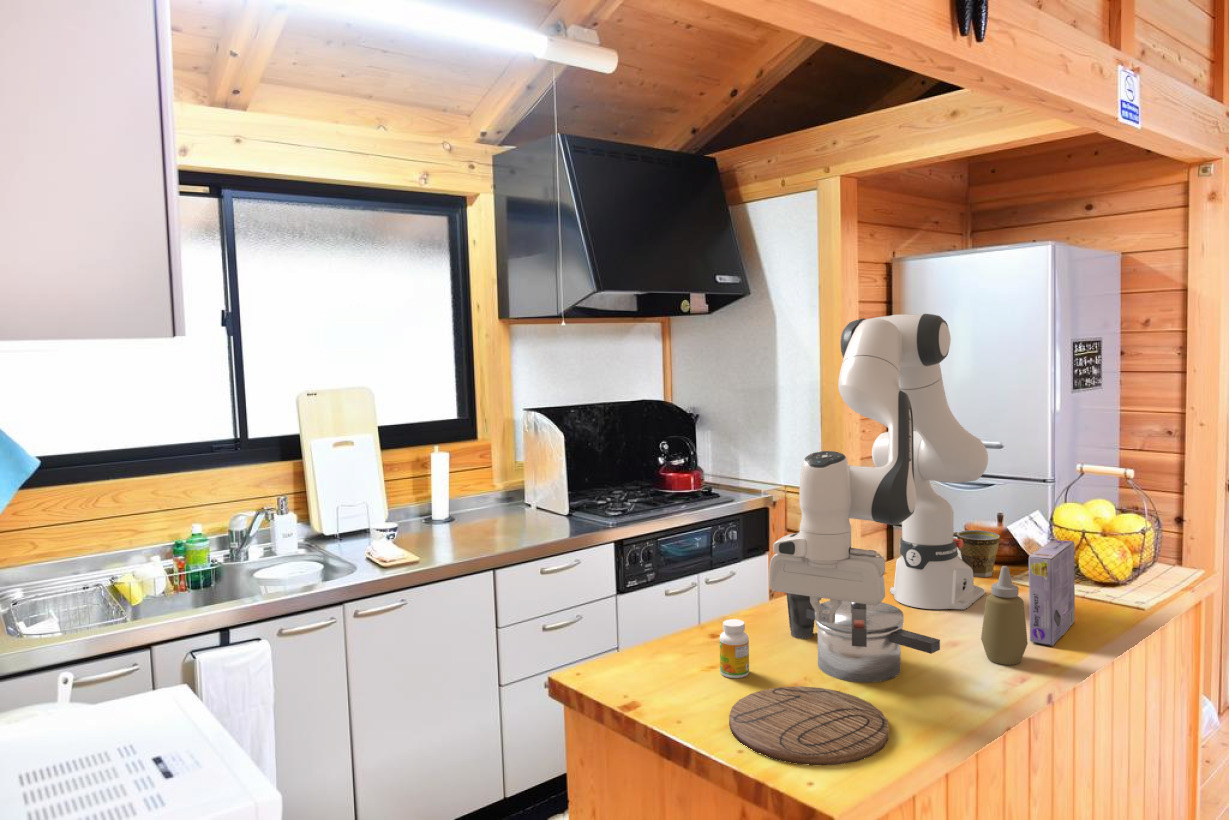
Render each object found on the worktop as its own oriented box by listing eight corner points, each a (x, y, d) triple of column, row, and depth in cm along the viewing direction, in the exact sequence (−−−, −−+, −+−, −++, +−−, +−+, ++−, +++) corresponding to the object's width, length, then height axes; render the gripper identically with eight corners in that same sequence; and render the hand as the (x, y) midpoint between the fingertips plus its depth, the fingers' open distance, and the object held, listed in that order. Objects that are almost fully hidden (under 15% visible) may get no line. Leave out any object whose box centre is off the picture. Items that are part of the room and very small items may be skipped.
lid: (901, 607, 173) (901, 582, 172) (909, 656, 148) (909, 628, 147) (816, 602, 177) (816, 579, 176) (810, 650, 152) (810, 622, 152)
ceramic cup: (1007, 575, 223) (1008, 535, 222) (981, 581, 218) (982, 541, 217) (964, 563, 234) (964, 526, 233) (938, 569, 229) (938, 531, 228)
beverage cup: (820, 641, 181) (819, 545, 179) (783, 640, 183) (782, 544, 181) (819, 629, 189) (818, 536, 187) (784, 628, 190) (783, 535, 188)
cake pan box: (1051, 616, 192) (1053, 536, 190) (1077, 621, 189) (1079, 539, 187) (1026, 643, 177) (1027, 556, 176) (1053, 648, 174) (1055, 559, 172)
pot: (835, 640, 182) (835, 597, 181) (958, 678, 161) (959, 630, 160) (785, 661, 171) (785, 615, 171) (910, 704, 151) (910, 653, 150)
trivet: (697, 726, 146) (697, 715, 146) (798, 684, 161) (798, 674, 161) (818, 786, 127) (818, 773, 126) (921, 732, 142) (921, 721, 142)
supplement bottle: (714, 670, 168) (713, 620, 167) (739, 665, 170) (738, 616, 169) (729, 681, 163) (728, 629, 162) (754, 675, 165) (754, 624, 164)
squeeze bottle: (991, 648, 175) (992, 558, 173) (1034, 659, 169) (1035, 566, 167) (973, 660, 169) (974, 567, 167) (1017, 671, 164) (1018, 575, 162)
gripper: (890, 547, 154) (890, 625, 155) (778, 535, 165) (778, 608, 166) (879, 556, 149) (879, 636, 150) (764, 542, 160) (765, 618, 161)
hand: (825, 621), depth 158 cm, fingers closed
